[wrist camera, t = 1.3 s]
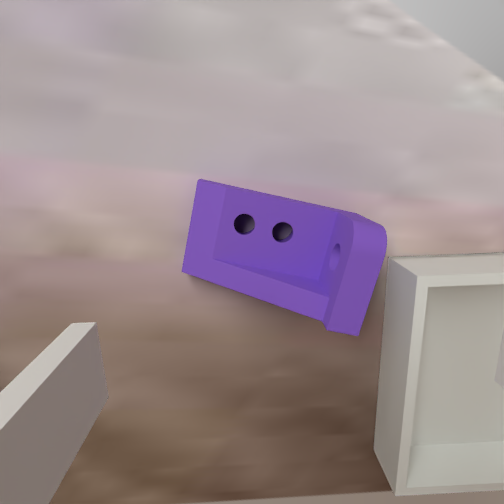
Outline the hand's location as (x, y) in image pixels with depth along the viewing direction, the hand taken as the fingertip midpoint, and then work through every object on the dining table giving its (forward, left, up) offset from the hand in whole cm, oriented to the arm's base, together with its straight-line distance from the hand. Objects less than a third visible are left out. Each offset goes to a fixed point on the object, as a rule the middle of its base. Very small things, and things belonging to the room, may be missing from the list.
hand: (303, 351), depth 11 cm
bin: (+19, -11, -16) cm, 27 cm away
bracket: (0, 0, -16) cm, 16 cm away
